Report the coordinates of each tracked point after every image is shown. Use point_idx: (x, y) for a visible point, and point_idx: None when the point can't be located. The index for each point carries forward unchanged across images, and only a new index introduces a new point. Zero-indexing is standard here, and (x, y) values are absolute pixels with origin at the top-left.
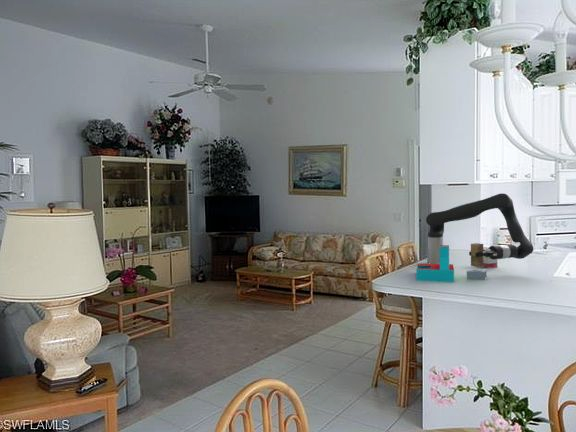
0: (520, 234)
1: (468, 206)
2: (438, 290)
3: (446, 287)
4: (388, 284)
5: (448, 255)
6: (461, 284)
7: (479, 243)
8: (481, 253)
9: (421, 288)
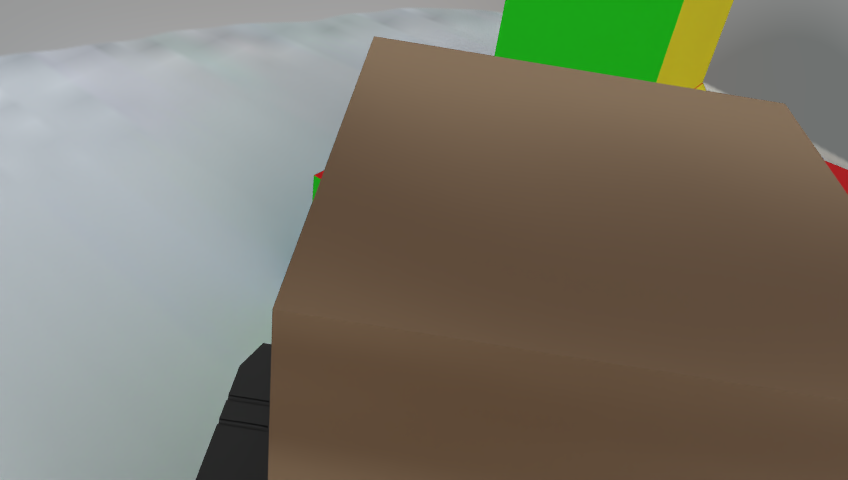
0: None
1: None
2: (142, 68)
3: (171, 138)
4: (490, 32)
5: (504, 28)
6: (159, 277)
7: (750, 372)
8: (200, 469)
9: (273, 54)
